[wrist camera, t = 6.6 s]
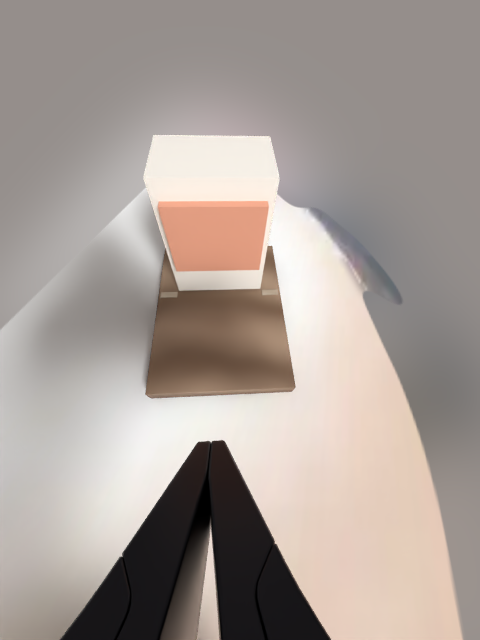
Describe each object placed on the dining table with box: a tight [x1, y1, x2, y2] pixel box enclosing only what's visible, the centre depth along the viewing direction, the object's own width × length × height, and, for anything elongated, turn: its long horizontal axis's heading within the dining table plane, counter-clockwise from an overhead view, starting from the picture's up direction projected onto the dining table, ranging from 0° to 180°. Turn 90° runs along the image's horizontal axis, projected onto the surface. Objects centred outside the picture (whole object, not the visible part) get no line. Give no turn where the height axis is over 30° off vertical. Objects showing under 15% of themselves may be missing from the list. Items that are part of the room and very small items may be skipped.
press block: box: [143, 135, 279, 291], centre depth 20 cm, size 6×8×11 cm
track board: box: [145, 246, 295, 398], centre depth 24 cm, size 16×12×2 cm
